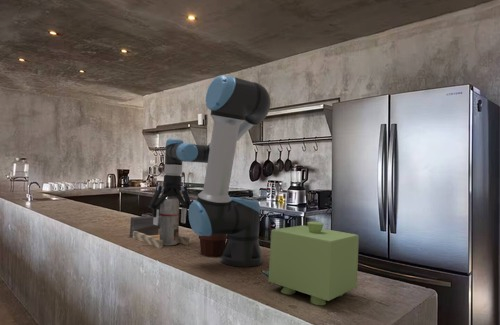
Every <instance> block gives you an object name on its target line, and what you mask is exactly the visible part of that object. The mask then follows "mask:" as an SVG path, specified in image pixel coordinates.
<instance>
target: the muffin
mask: <svg viewBox="0 0 500 325" xmlns="http://www.w3.org/2000/svg"><path fill="white" fill-rule="evenodd" d="M198 240H199V245H200V255H202V256H205V257H221V254H222V251H223V249H224V246H225V244H226V241H227V234H223V235H211V236H200V235H198Z"/></svg>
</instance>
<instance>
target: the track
mask: <svg viewBox="0 0 500 325" xmlns="http://www.w3.org/2000/svg"><path fill="white" fill-rule="evenodd" d="M153 220H154V217H152V215H150V216H149V215H148V216H147V215H144V216H130V223H129V224H130V225H129V238H132V239H134V240H137V241H140V242H142V243H145V244H147V245H150V246H152V247H155V248H157V249H163V247H164V245H163V240H160V215H159V218H158V225H153ZM179 243H180V244H182V245H185V246H186V245H190V236H186V235H182V234H180V233H179V234H178V244H179Z"/></svg>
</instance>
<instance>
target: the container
mask: <svg viewBox="0 0 500 325" xmlns="http://www.w3.org/2000/svg"><path fill="white" fill-rule="evenodd" d="M306 224H307V225H303V224H302V225H296V226H289V227H282V228H274V229H271V232H270V233H271V234H270V250H269V264H268V265H269V266H268V267H269V268H268V282H270V283H272V284H275V285H278V286H281V287H283V288H282V289H281V290H280V293H282V294H284V295H294V294H295V293H297V292H300V293H303V294H306V295H309V296H310V303H311V304H313V305H316V306H317V305H318V306H324V305H326V304H327V301H328V302H329V301H331V300H333V299H335V298H337V297H342V296H344V294H346V293H347V292H349V291H352V290H353V289H355V288H357V286H358V267H359V265H358V263H359V244H360V243H359V238H360V236H359V234H355V233H350V232H344V231H338V230H331V229H326V228H324V223H323V222H321V221H313V220H312V221H308V222H307V223H306ZM296 291H297V292H296Z"/></svg>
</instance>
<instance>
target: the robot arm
mask: <svg viewBox="0 0 500 325" xmlns="http://www.w3.org/2000/svg"><path fill="white" fill-rule="evenodd" d="M205 103H206V104H205V105H206V107H207V109H209V111H210V113H209V115H210V117H211V118H212V120H213V126H212V131H211V132H212V133H211V136H210V138H211V139H210V142H209V143H208V144H196V143H191V142H184V140H182V139H178V138H167V139H166V141H165V142H166V143H165V148H164V149H165V153H164V170H163V174H164V175H163V186H162V185H156V187H155V192H154V194H153V195H152V197H151V200H150V202H149V203H148V205H147V207H148V208H150V209H151V210H152V213H151V216H152V217H154V220H153V225H158V218H159V216H160V209H158V208H159V207H161V204H162V202H163V201H164V200H165V199H166V198H167V199H168V197H175V198H177V199H178V200H179V204H180V205H181V206H182V207H181V212H180V213H181V214H180V223H182V224H186V220H187V216H188V221H189V224H190V227H191V230H192V231H193V232H194V234H196V235H197V236H199V235H200V236H211V235H223V234H225V235H226V236H227V239H226V243H225V246H224V249H223V251H222V254H221V256H220V261H221V262H222V263H223V264H225V265H228V266H233V267H243V268H244V267H245V268H247V267H249V268H250V267H256V266H259V265H261V264H262V263H263V254H262V250H261V247H260V242H259V237H260V236H259V234H260V219H261V218H260V217H261V204H260V202H259V201H257V200H253V199H252V200H251V199H244V198H240V197H234V196H230V195H229V190H230V184H231V178H232V172H233V171H232V170H233V166H234V161H235V155H236V148H237V142H238V141H239V140H240V139H241V138H242V137H244V135H245V134H246V133H247V132H248V131H250V130H251V128H253V127H254V126H258V125H259V124H261V123H262V122H263V120H265V119H266V118H267V116H268V114H269V112H270V108H271V97H270V94H269V91H268V90H267V89H266V87H265V86H264V85H262V84H260V83H259V82H255V81H254V82H253V81H251V80H248V79H247V80H246V79H244V78H239V77H235V76H232V75H230V76H229V75H223V74H222V75H218V76H216V77H215V78H213V80H212V81H211V82H210V84H209V86H208V88H207V90H206V95H205ZM183 162H185V163H202V164H206V171H205V177H204V184H203V189H202V191H200V192H199V193H198V194H197V198H196V199H197V200H194V201H192V202H191V198H190V195H189V193H188V186H186V185H182V186H181V184H182V174H183Z"/></svg>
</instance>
